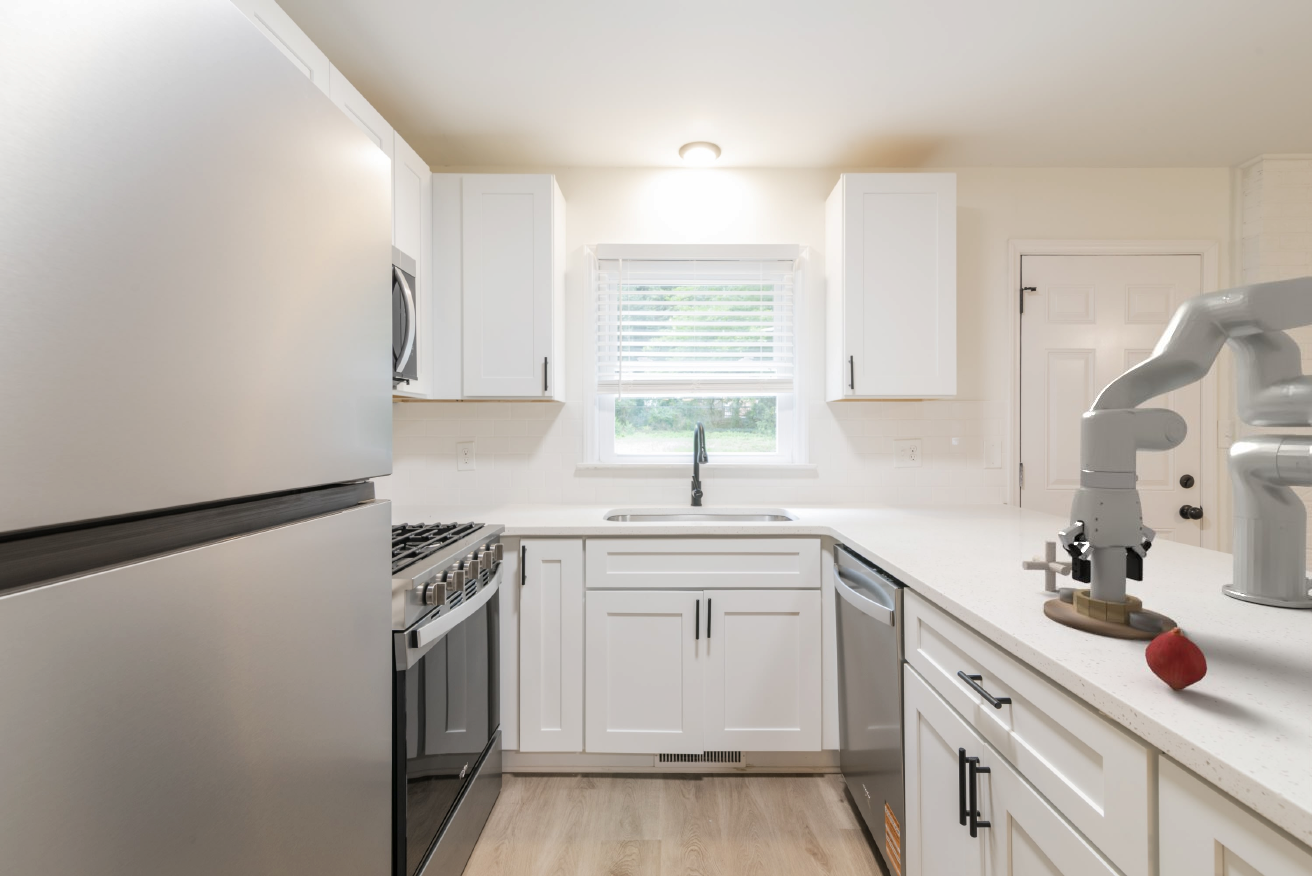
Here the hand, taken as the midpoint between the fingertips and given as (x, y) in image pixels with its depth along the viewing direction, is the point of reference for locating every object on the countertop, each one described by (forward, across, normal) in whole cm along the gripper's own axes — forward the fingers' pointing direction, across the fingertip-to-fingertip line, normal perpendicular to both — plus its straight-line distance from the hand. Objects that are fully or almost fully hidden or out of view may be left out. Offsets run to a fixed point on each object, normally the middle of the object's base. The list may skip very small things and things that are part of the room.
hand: (1106, 580), depth 98 cm
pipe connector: (+7, -5, -18) cm, 20 cm away
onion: (+7, +14, +24) cm, 29 cm away
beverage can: (+6, 0, 0) cm, 6 cm away
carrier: (+7, 0, 0) cm, 7 cm away
